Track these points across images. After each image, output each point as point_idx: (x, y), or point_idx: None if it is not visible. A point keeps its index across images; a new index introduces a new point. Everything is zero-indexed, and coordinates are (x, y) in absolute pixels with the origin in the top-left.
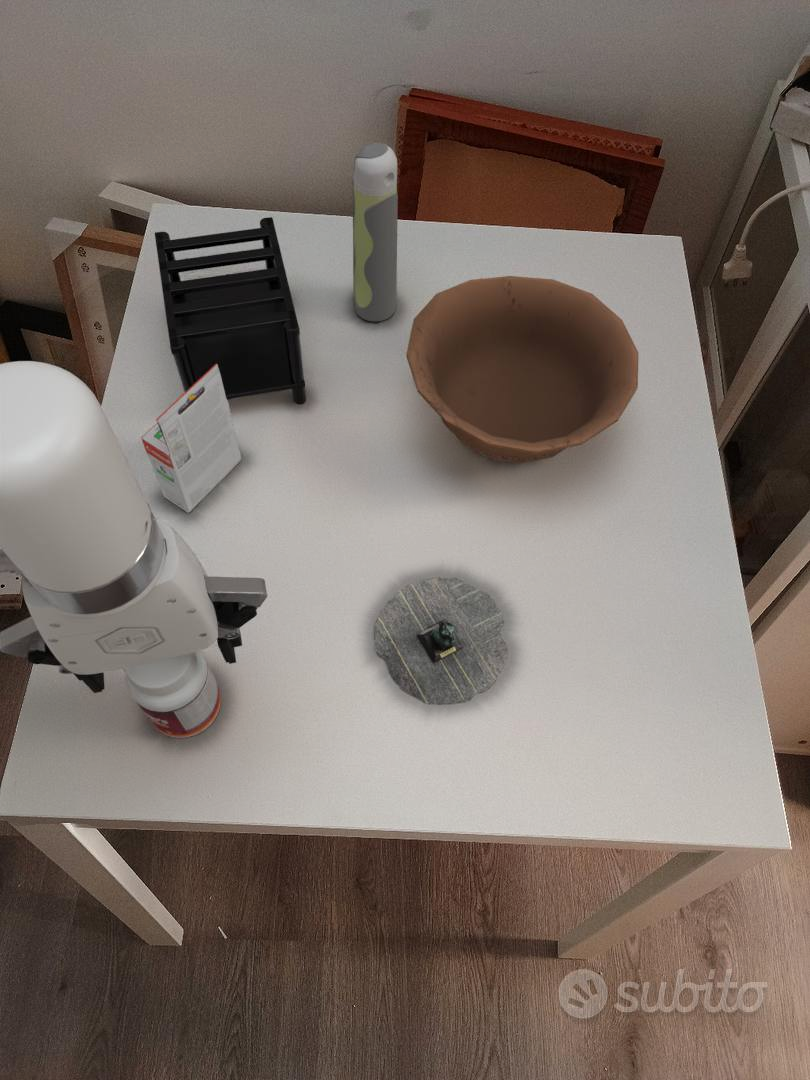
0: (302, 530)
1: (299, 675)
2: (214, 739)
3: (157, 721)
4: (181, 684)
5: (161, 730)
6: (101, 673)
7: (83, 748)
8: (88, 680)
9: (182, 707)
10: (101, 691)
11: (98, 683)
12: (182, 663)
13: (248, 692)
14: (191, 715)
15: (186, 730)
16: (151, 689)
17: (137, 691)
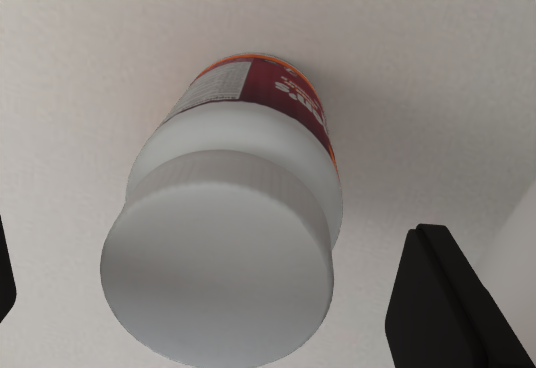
0: (18, 345)
1: (29, 110)
2: (210, 32)
3: (300, 95)
4: (166, 168)
5: (305, 81)
6: (405, 283)
7: (460, 97)
8: (474, 305)
9: (210, 101)
10: (422, 225)
11: (431, 266)
12: (131, 240)
13: (131, 107)
14: (214, 82)
15: (250, 61)
16: (256, 184)
17: (316, 184)
